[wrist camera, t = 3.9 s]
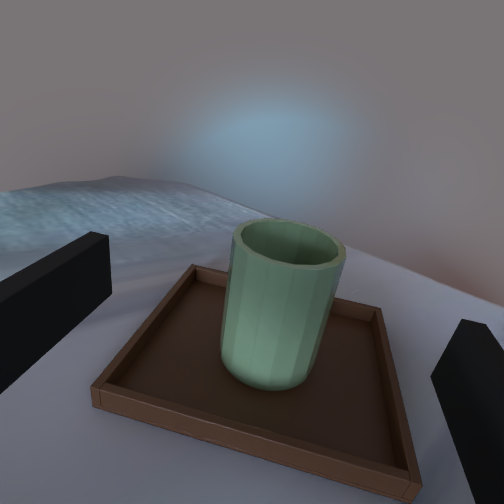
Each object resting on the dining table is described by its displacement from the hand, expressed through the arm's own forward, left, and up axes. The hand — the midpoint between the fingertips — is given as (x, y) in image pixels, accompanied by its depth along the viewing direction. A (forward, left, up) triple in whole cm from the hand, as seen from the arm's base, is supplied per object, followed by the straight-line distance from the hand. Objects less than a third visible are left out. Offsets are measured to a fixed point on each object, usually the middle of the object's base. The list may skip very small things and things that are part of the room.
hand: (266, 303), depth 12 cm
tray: (0, -10, -12) cm, 15 cm away
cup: (0, -10, -11) cm, 15 cm away
